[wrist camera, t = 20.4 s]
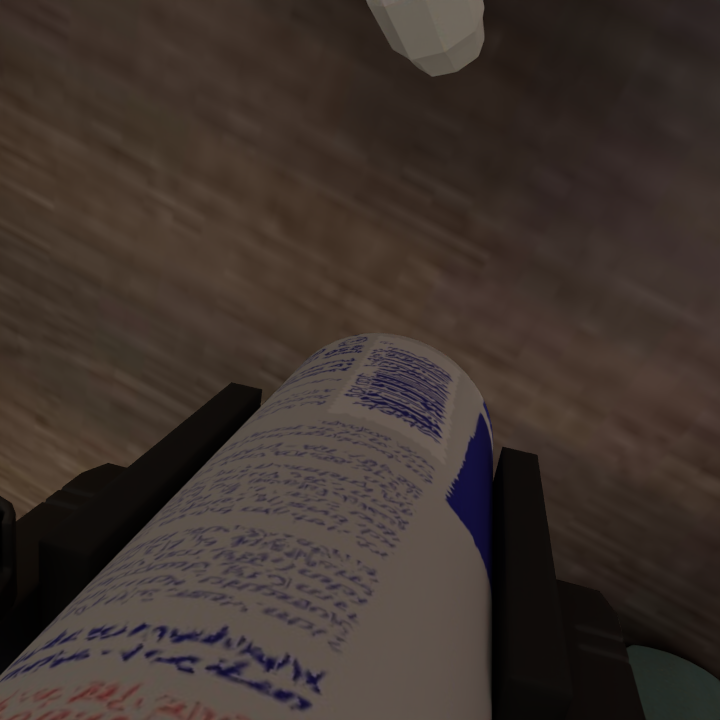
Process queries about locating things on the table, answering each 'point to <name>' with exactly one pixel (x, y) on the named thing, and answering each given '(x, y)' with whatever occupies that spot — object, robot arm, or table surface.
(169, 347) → the table surface
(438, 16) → the mug
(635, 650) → the flower pot
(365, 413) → the beverage can
